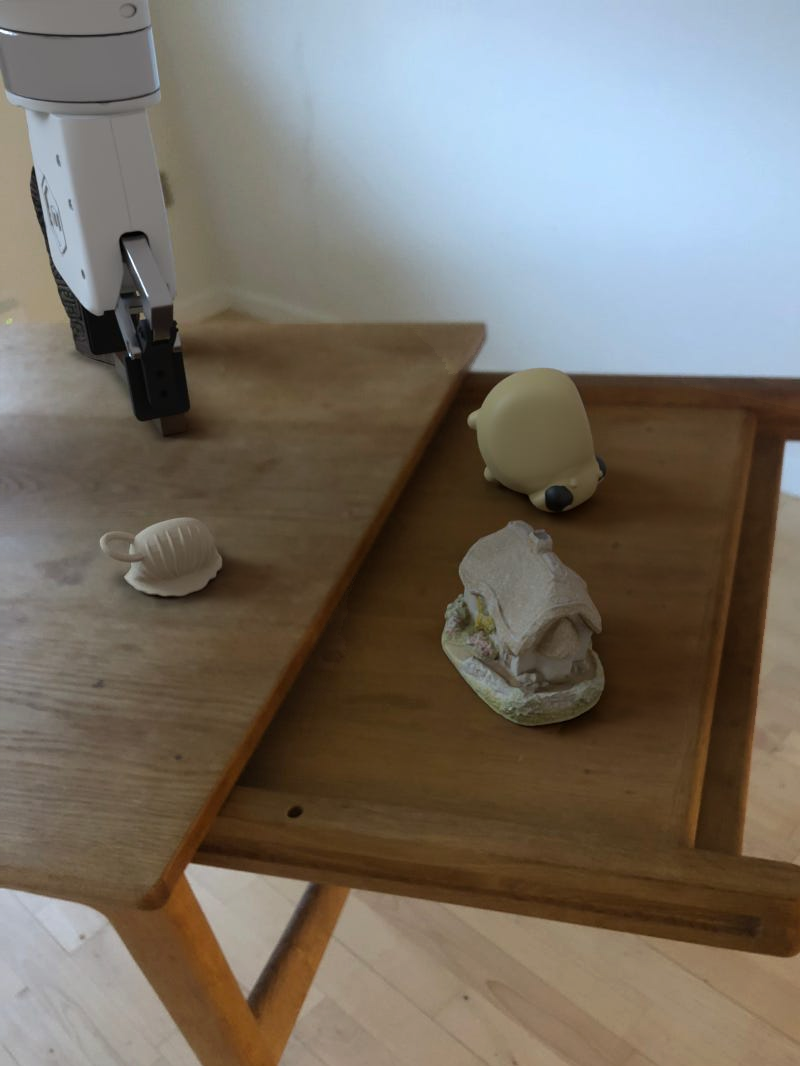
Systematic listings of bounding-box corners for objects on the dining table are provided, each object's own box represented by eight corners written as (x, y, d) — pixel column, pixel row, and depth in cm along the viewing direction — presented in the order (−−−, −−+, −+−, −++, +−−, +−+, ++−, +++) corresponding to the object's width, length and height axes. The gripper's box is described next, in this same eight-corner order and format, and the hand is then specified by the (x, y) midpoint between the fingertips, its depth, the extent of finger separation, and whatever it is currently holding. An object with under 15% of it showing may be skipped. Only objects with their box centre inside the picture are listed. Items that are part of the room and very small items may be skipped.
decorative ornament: (234, 582, 70) (226, 521, 67) (118, 613, 67) (104, 551, 63) (215, 552, 73) (207, 492, 69) (102, 581, 69) (88, 519, 66)
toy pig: (497, 543, 83) (579, 514, 74) (433, 416, 80) (509, 371, 72) (568, 499, 88) (652, 466, 80) (510, 379, 86) (589, 333, 77)
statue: (122, 369, 94) (81, 148, 81) (62, 353, 96) (12, 134, 83) (163, 343, 99) (131, 131, 86) (105, 329, 101) (64, 118, 88)
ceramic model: (418, 606, 70) (422, 489, 63) (557, 581, 73) (575, 467, 67) (489, 742, 60) (502, 620, 53) (645, 705, 63) (676, 586, 57)
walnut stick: (163, 436, 85) (159, 413, 84) (116, 371, 94) (112, 350, 92) (187, 431, 86) (183, 409, 85) (138, 367, 95) (135, 346, 93)
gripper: (-32, 36, 52) (42, 338, 63) (42, 110, 41) (116, 458, 52) (107, 32, 55) (155, 320, 67) (211, 100, 45) (247, 430, 56)
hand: (138, 381), depth 60 cm, fingers open, 9 cm apart
